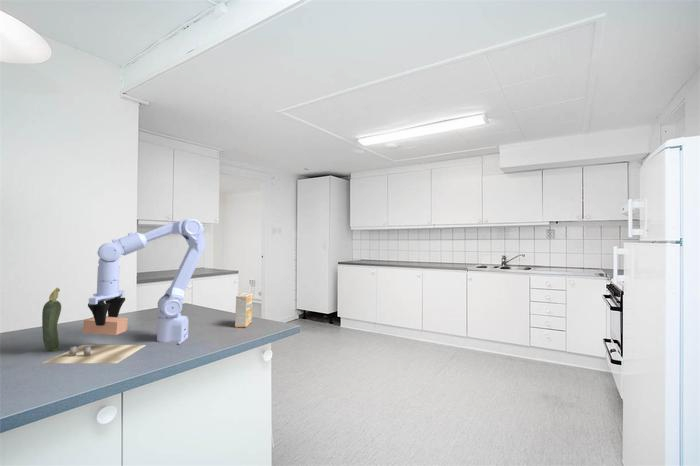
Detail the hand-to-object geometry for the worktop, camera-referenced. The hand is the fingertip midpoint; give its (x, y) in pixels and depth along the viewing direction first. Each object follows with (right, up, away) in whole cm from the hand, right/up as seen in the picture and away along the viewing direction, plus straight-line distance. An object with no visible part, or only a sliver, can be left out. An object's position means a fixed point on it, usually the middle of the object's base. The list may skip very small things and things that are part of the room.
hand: (106, 322), depth 107 cm
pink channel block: (0, -3, 0) cm, 3 cm away
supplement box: (+33, -11, +35) cm, 49 cm away
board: (+1, -9, -5) cm, 10 cm away
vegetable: (-15, -9, -3) cm, 18 cm away
